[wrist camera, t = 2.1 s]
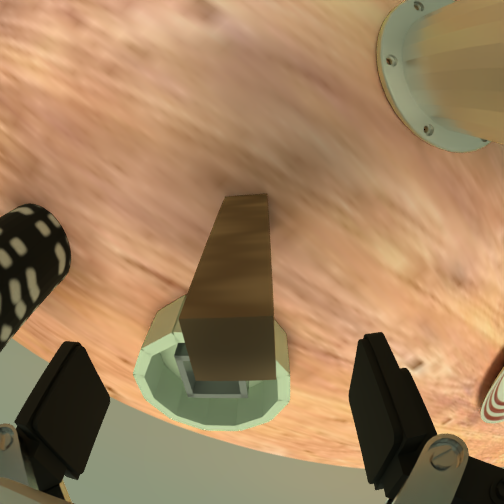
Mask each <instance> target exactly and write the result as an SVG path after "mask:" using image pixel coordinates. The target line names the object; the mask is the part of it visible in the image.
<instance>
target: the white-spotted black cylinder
mask: <svg viewBox="0 0 504 504" xmlns="http://www.w3.org/2000/svg"><path fill="white" fill-rule="evenodd" d="M70 262H71V254H70V247H69V243H68V240H67V237H66V234H65V233H64V231H63V229H62V227H61V225H60V224H59V223H58V221H57V220H56V219H55V217H54V216H53V215H52V214H51V213H50V212H48V211H47V210H45V209H44V208H42V207H40V206H38V205H34V204H24V205H21V206H19V207H17V208H15V209H14V210H12V211H10V212H9V213H7V214H5V215H4V216H2V217H0V352H1V351H2V349H3V348H4V347H5V346H6V344H7V343H8V342H9V340H10V339H11V338H12V337H13V336H14V334H15V333H16V332H17V331H18V330H19V328H20V327H21V326H22V325H23V324H24V322H25V321H26V320H27V319H28V318H29V317H30V315H31V314H32V313H33V312H34V311H35V310H36V308H37V307H38V306H39V305H40V304H41V303H42V302H43V301H44V299H45V298H46V297H47V296H48V295H49V294H50V293H51V292H52V291H53V290H54V288H55V287H56V286H57V285H58V284H59V283H60V282H61V281H62V280H63V279H64V278H65V276H66V275H67V273H68V271H69V268H70Z"/></svg>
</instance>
